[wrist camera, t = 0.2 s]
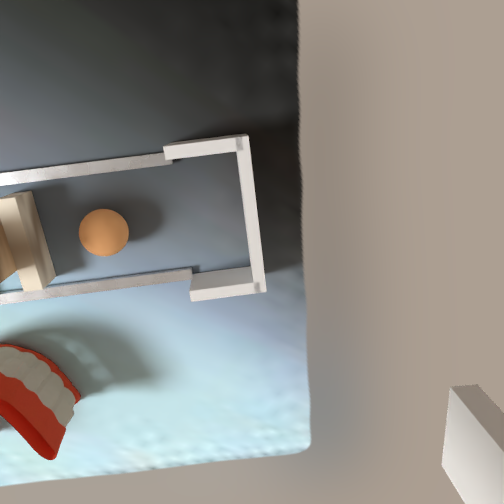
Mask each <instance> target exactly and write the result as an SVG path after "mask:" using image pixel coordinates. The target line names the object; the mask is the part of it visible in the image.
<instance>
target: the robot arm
mask: <svg viewBox="0 0 504 504" xmlns="http://www.w3.org/2000/svg"><path fill="white" fill-rule="evenodd" d="M442 467H443V468H444V470H445V472H446V473H447V475H448V477H449V478H450V480H451V481H452V483H453V485H454V486H455V488H456V490H457V491H458V493H459V494H460V496H461V497H462V499H463V501H464V503H465V504H504V413H503V412H502V411H501V409H500V408H499V407H498V406H497V405H496V404H495V403H494V402H493V401H492V400H491V399H490V398H489V397H488V395H487V394H486V393H485V392H484V391H483V390H482V389H481V388H480V387H479V386H478V385H477V384H476V385H465V386H454V387H450V393H449V402H448V412H447V421H446V430H445V439H444V448H443V458H442Z"/></svg>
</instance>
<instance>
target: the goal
mask: <svg viewBox="0 0 504 504" xmlns="http://www.w3.org/2000/svg"><path fill="white" fill-rule="evenodd" d="M163 149H164V154H165V160H170V159H178V158H186V157H194V156H202V155H210V154H217V153H225V152H233V151H236V152H237V160H238V168H239V176H240V184H241V192H242V200H243V207H244V215H245V223H246V231H247V239H248V247H249V255H250V263H251V266H249V267H241V268H233V269H226V270H218V271H211V272H203V273H195V274H193V275H192V280H191V285H190V290H189V292H190V298H191V302H193V301H201V300H208V299H216V298H223V297H231V296H238V295H246V294H253V293H261V292H267V291H266V283H265V274H264V265H263V257H262V248H261V240H260V231H259V222H258V214H257V205H256V196H255V188H254V179H253V171H252V162H251V153H250V145H249V136H248V135H247V134H246V133H245V134H237V135H229V136H221V137H213V138H205V139H197V140H189V141H181V142H173V143H169V144H167V145H165V146H163Z"/></svg>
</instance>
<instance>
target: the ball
mask: <svg viewBox="0 0 504 504" xmlns="http://www.w3.org/2000/svg"><path fill="white" fill-rule="evenodd" d="M128 237H129V229H128V225H127V223H126V221H125V220H124V218H123V217H122V216H121V215H120V214H118V213H117V212H115V211H112V210H109V209H98V210H95V211H92V212H90V213H89V214H87V215H86V216H85V217H84V219H83V220H82V222H81V224H80V227H79V238H80V241H81V243H82V244H83V246H84V247H85V248H86V249H87V250H88V251H89V252H91V253H93V254H95V255H98V256H110V255H113V254H116V253H118V252H119V251H120V250H122V249H123V247H124V246H125V245H126V243H127V241H128Z"/></svg>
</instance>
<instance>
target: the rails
mask: <svg viewBox="0 0 504 504" xmlns="http://www.w3.org/2000/svg"><path fill="white" fill-rule="evenodd" d="M169 164H173V159H170V160H165V154H164V152H162V153H154V154H146V155H138V156H130V157H122V158H114V159H106V160H99V161H91V162H83V163H75V164H67V165H59V166H51V167H43V168H35V169H27V170H19V171H11V172H3V173H0V186H2V185H10V184H18V183H26V182H34V181H42V180H50V179H58V178H66V177H74V176H82V175H90V174H97V173H105V172H113V171H121V170H129V169H137V168H145V167H153V166H161V165H169ZM192 275H193V272H192V267H187V268H180V269H172V270H164V271H157V272H149V273H142V274H134V275H126V276H119V277H111V278H103V279H96V280H88V281H81V282H73V283H65V284H58V285H50V286H46V287H45V288H44V289H43V290H36V291H28V292H24V290H23V289H20V290H12V291H4V292H0V305H1V304H9V303H16V302H24V301H31V300H39V299H47V298H54V297H62V296H69V295H77V294H85V293H92V292H100V291H107V290H115V289H122V288H130V287H138V286H145V285H153V284H160V283H168V282H175V281H183V280H191V279H192Z"/></svg>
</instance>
